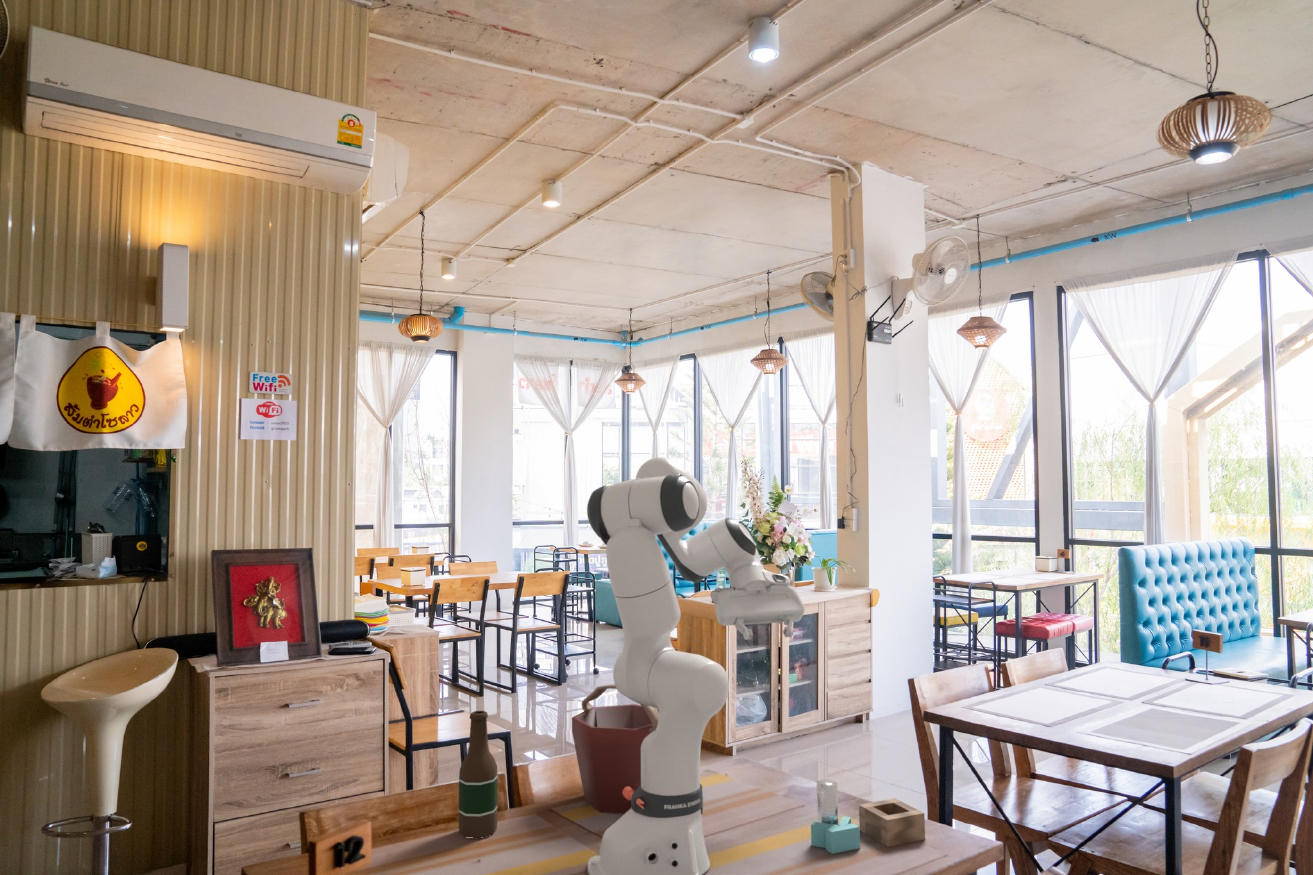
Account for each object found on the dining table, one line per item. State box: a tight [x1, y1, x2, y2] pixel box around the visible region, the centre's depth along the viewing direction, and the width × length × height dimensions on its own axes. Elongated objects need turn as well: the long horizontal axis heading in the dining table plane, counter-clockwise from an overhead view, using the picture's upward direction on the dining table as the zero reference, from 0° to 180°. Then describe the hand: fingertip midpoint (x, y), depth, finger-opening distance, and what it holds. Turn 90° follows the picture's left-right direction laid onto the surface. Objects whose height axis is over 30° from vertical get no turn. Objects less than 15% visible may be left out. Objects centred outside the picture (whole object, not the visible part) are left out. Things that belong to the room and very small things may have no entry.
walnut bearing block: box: [858, 797, 926, 848], centre depth 168 cm, size 9×9×5 cm
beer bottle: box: [458, 710, 499, 839], centre depth 172 cm, size 8×8×24 cm
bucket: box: [571, 683, 659, 815], centre depth 189 cm, size 24×22×25 cm
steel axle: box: [816, 779, 839, 825], centre depth 165 cm, size 4×4×11 cm
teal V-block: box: [810, 815, 861, 855], centre depth 163 cm, size 9×6×4 cm, turn 112°
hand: (769, 636), depth 182 cm, fingers open, 8 cm apart
